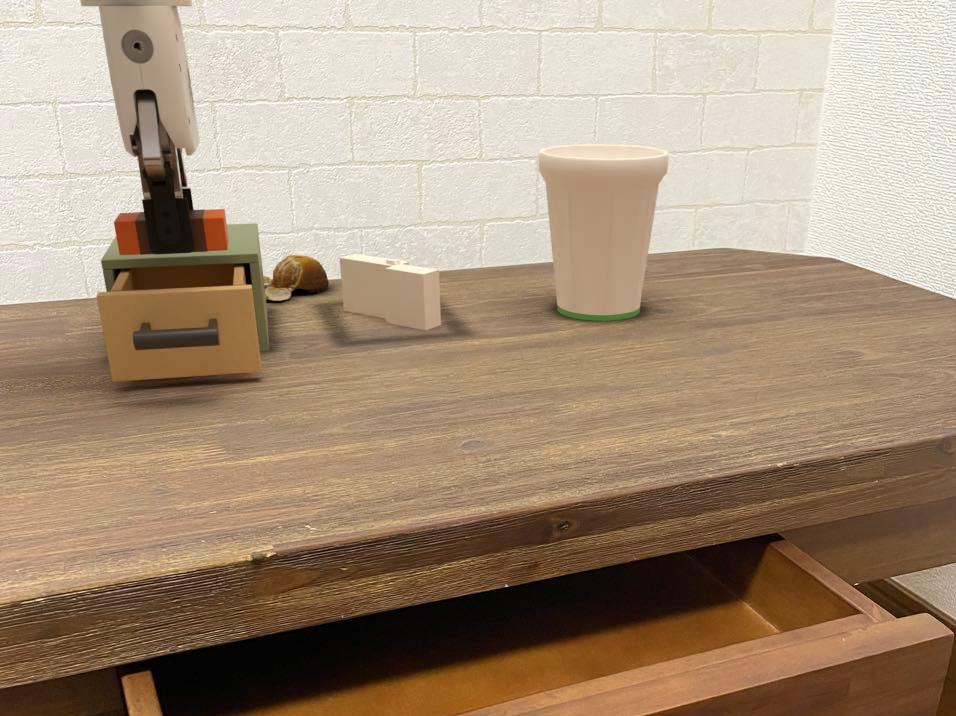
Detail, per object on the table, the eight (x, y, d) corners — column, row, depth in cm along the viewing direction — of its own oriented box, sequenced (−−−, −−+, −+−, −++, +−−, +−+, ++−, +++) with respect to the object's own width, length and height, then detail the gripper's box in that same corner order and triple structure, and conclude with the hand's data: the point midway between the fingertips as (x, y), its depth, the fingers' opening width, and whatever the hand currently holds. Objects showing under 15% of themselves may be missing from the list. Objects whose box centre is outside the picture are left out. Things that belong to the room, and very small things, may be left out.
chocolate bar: (119, 255, 79) (113, 221, 78) (125, 245, 83) (119, 212, 82) (227, 250, 81) (223, 217, 80) (228, 240, 85) (224, 208, 84)
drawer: (262, 390, 80) (251, 302, 77) (104, 401, 77) (87, 311, 74) (260, 328, 96) (251, 253, 93) (130, 335, 93) (116, 259, 90)
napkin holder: (321, 306, 107) (316, 249, 104) (429, 298, 110) (427, 243, 107) (344, 345, 94) (339, 282, 91) (466, 335, 97) (464, 273, 95)
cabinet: (269, 351, 92) (257, 253, 88) (118, 361, 89) (100, 259, 86) (267, 310, 105) (257, 223, 101) (135, 318, 102) (120, 228, 98)
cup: (684, 317, 103) (696, 154, 97) (577, 333, 98) (581, 162, 91) (616, 291, 113) (622, 141, 106) (515, 304, 108) (515, 147, 101)
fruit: (239, 289, 113) (235, 255, 111) (310, 279, 117) (307, 246, 115) (269, 305, 107) (265, 269, 105) (343, 294, 111) (340, 259, 109)
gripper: (182, -19, 67) (221, 267, 76) (195, -14, 82) (226, 225, 90) (58, -20, 66) (112, 272, 74) (93, -14, 80) (135, 229, 88)
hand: (174, 244), depth 82 cm, fingers closed on chocolate bar, 4 cm apart
